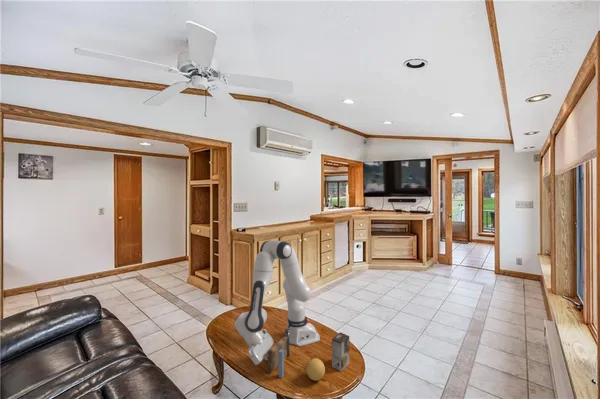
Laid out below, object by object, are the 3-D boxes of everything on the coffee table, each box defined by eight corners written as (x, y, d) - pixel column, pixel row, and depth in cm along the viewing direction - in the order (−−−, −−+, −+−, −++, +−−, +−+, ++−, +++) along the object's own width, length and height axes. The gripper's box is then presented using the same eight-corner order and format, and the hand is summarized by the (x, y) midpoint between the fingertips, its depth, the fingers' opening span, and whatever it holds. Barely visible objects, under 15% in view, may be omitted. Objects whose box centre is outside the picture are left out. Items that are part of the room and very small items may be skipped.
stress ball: (326, 382, 142) (326, 361, 149) (322, 377, 135) (322, 355, 143) (308, 383, 144) (308, 361, 151) (303, 377, 138) (304, 355, 145)
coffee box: (339, 358, 160) (340, 331, 159) (349, 363, 156) (349, 335, 155) (331, 366, 153) (331, 338, 152) (341, 371, 149) (341, 342, 148)
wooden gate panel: (284, 355, 162) (284, 336, 161) (287, 356, 161) (287, 337, 160) (268, 371, 147) (267, 351, 147) (271, 373, 146) (271, 352, 146)
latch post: (280, 374, 147) (280, 349, 146) (283, 375, 146) (283, 349, 146) (278, 377, 144) (278, 351, 144) (282, 378, 144) (282, 352, 143)
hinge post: (285, 353, 165) (285, 328, 164) (290, 354, 164) (290, 328, 163) (284, 356, 162) (283, 330, 161) (289, 357, 161) (289, 331, 160)
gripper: (250, 347, 143) (267, 369, 141) (266, 327, 162) (281, 346, 160) (242, 353, 144) (259, 375, 142) (259, 333, 164) (274, 352, 162)
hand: (271, 360), depth 151 cm, fingers closed
